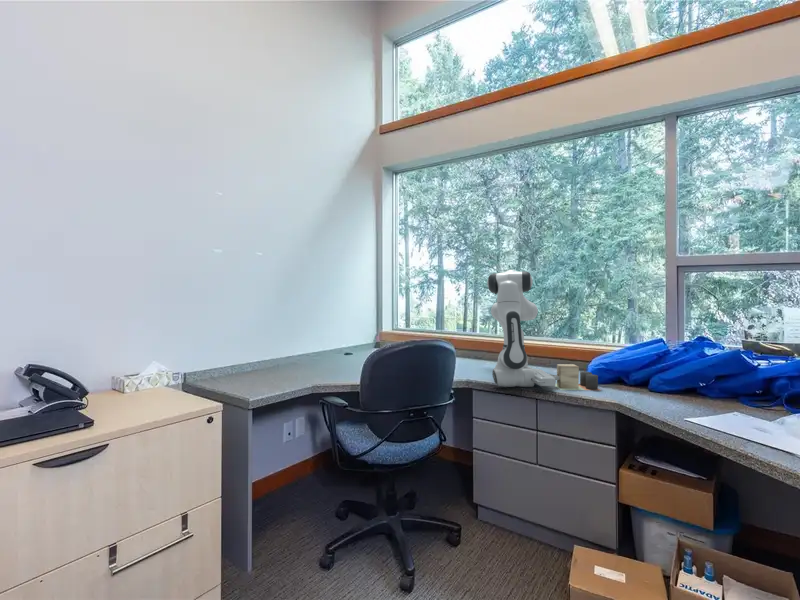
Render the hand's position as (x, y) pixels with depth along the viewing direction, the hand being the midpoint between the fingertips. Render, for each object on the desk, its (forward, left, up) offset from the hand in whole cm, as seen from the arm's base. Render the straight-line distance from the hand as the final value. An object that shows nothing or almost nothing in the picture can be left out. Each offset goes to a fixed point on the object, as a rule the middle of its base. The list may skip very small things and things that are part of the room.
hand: (558, 377), depth 185 cm
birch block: (0, +4, -4) cm, 6 cm away
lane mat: (0, +4, -5) cm, 7 cm away
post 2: (+3, +14, -4) cm, 15 cm away
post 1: (-3, +14, -4) cm, 15 cm away
